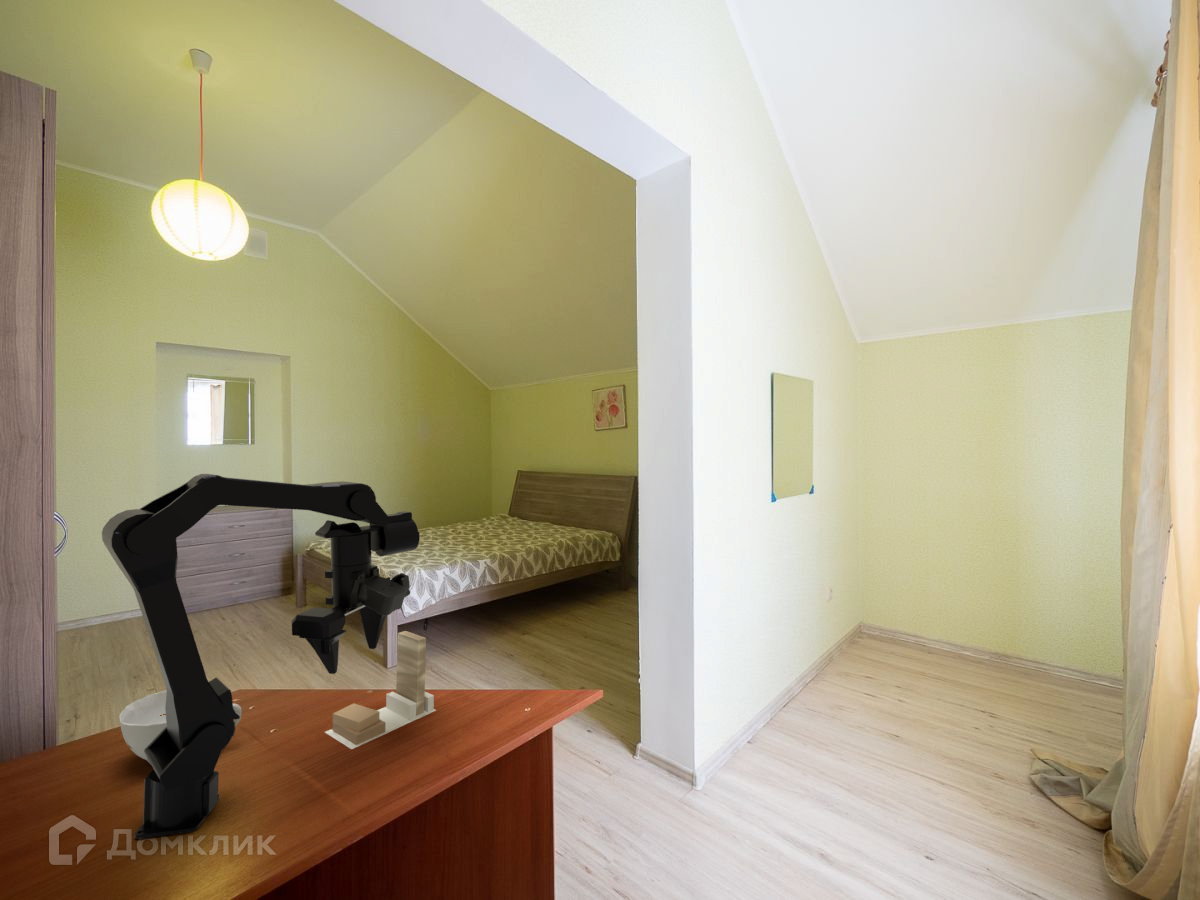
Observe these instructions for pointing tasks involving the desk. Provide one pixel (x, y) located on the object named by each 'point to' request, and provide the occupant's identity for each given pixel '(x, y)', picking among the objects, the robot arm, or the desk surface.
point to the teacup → (147, 721)
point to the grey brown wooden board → (411, 668)
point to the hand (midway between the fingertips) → (353, 660)
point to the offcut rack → (375, 719)
